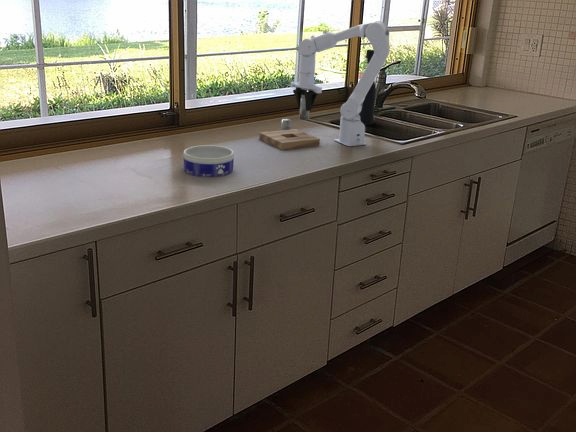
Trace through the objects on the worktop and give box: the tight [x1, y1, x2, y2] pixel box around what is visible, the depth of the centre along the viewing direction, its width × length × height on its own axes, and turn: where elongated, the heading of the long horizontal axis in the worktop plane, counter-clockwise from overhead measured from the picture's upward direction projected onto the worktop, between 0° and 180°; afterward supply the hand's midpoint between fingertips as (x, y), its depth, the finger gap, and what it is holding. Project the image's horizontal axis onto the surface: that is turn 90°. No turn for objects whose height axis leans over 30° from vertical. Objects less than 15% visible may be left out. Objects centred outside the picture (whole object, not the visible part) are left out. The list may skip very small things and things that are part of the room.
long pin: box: [299, 94, 311, 121], centre depth 237 cm, size 4×4×9 cm
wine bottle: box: [359, 49, 377, 126], centre depth 263 cm, size 6×6×30 cm
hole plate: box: [258, 128, 321, 151], centre depth 232 cm, size 16×16×2 cm
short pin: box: [280, 118, 292, 131], centre depth 246 cm, size 4×4×5 cm
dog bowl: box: [182, 144, 235, 178], centre depth 196 cm, size 15×15×6 cm
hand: (304, 109), depth 238 cm, fingers closed on long pin, 4 cm apart
